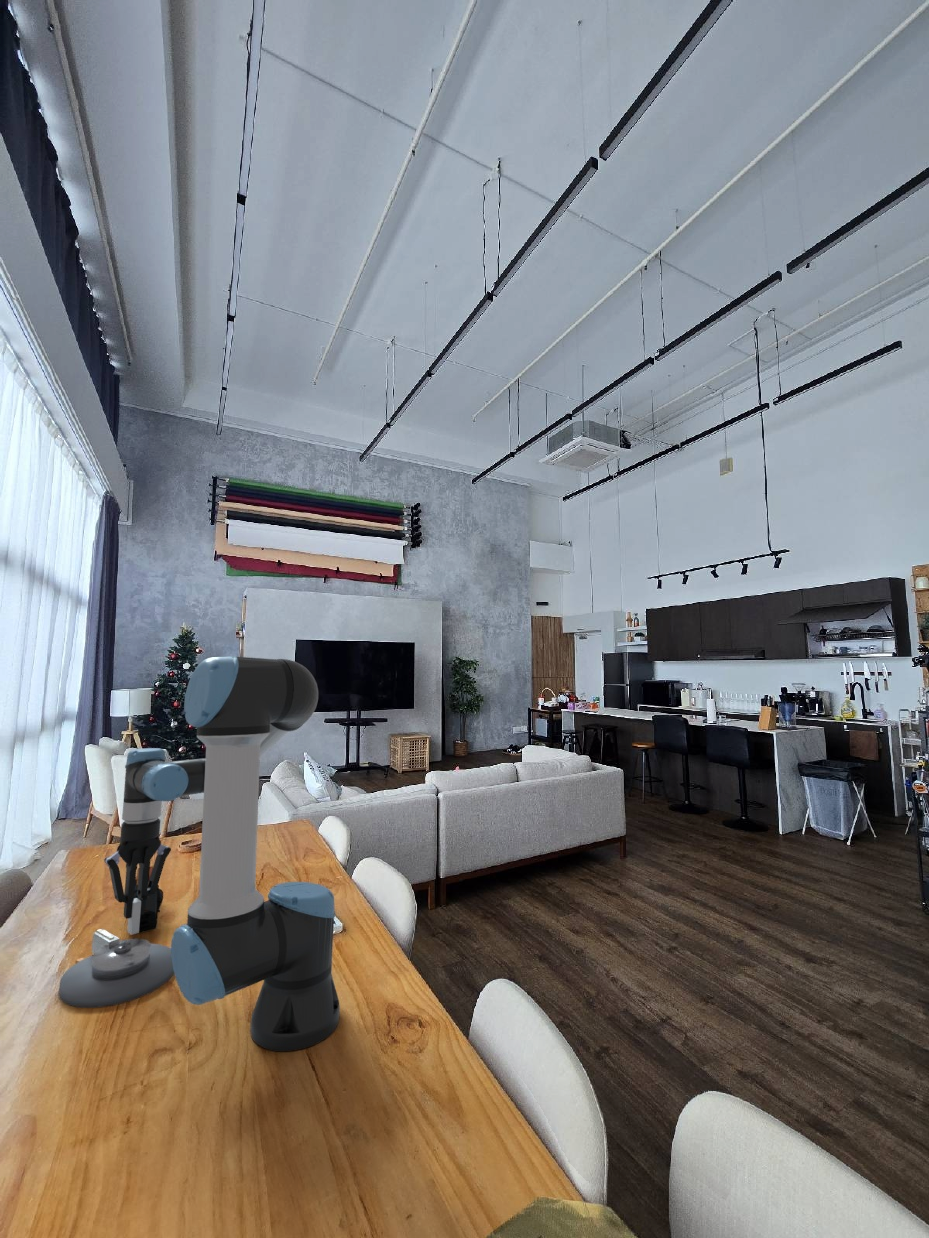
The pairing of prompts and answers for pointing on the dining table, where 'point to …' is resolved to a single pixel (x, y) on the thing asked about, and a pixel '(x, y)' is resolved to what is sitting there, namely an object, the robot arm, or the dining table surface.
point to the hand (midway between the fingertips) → (132, 931)
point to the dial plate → (114, 981)
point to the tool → (149, 907)
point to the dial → (118, 955)
